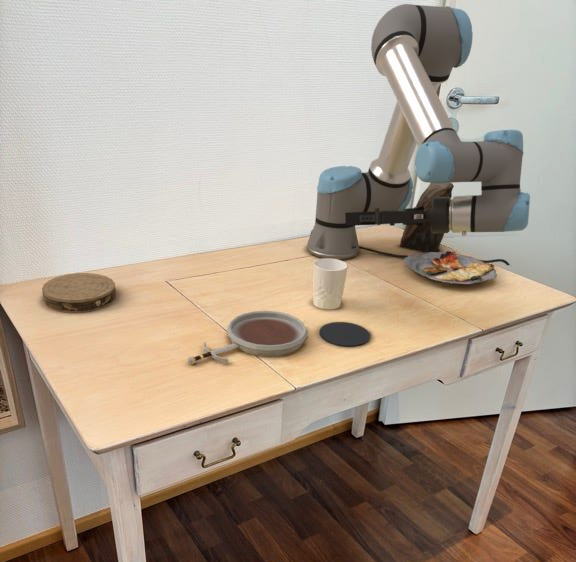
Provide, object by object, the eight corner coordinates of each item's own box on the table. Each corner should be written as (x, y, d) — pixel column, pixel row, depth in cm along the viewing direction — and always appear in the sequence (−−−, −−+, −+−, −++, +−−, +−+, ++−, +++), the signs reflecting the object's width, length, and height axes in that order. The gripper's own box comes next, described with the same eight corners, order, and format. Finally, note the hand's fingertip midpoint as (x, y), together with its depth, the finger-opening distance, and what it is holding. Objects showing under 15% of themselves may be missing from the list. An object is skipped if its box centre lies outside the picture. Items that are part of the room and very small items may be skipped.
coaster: (360, 322, 132) (360, 320, 131) (377, 345, 123) (377, 343, 122) (313, 324, 129) (313, 323, 129) (327, 348, 120) (327, 346, 120)
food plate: (449, 254, 175) (452, 242, 173) (512, 280, 159) (515, 268, 157) (387, 266, 163) (389, 254, 161) (448, 297, 147) (451, 284, 145)
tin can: (112, 282, 143) (111, 270, 142) (119, 308, 131) (118, 296, 129) (43, 287, 138) (41, 275, 136) (44, 316, 126) (42, 303, 124)
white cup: (338, 313, 135) (342, 272, 130) (306, 307, 137) (309, 267, 132) (346, 300, 141) (351, 261, 136) (315, 295, 143) (319, 256, 138)
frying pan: (164, 337, 115) (273, 302, 131) (165, 350, 117) (272, 313, 133) (213, 373, 105) (325, 330, 121) (213, 387, 106) (324, 343, 122)
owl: (419, 238, 186) (431, 173, 176) (454, 248, 179) (468, 182, 169) (397, 246, 178) (408, 179, 168) (432, 257, 171) (446, 188, 161)
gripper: (443, 235, 113) (338, 238, 121) (456, 230, 135) (367, 233, 143) (444, 195, 111) (338, 200, 119) (457, 197, 133) (367, 201, 141)
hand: (353, 218), depth 131 cm, fingers open, 13 cm apart
